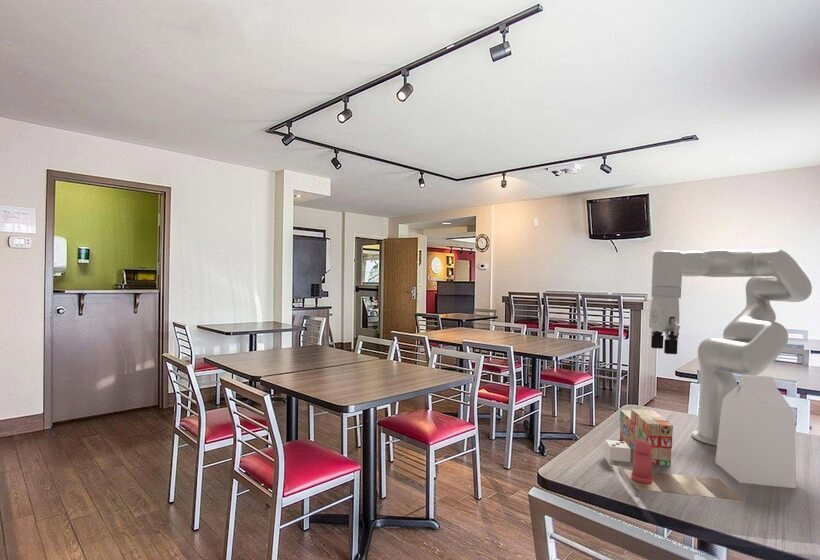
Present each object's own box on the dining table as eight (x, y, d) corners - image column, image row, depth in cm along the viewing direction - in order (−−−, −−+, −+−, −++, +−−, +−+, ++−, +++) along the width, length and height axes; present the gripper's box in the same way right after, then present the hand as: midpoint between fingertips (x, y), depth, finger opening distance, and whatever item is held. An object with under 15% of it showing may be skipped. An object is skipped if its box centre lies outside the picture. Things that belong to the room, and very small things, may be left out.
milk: (765, 472, 115) (770, 372, 114) (796, 494, 103) (801, 383, 103) (714, 467, 117) (719, 369, 116) (739, 488, 105) (744, 379, 105)
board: (719, 483, 108) (719, 477, 108) (748, 508, 96) (749, 502, 96) (619, 473, 111) (619, 467, 111) (635, 496, 99) (635, 490, 99)
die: (624, 459, 120) (624, 441, 120) (630, 467, 115) (630, 448, 115) (604, 457, 121) (605, 439, 121) (609, 465, 116) (610, 446, 116)
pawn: (648, 476, 107) (649, 437, 106) (655, 485, 102) (656, 444, 102) (628, 474, 107) (630, 436, 107) (635, 483, 103) (636, 443, 103)
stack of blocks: (618, 439, 135) (620, 399, 135) (640, 441, 134) (642, 401, 134) (645, 470, 114) (647, 422, 114) (671, 472, 113) (673, 424, 113)
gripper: (641, 291, 139) (639, 345, 139) (664, 293, 122) (661, 355, 122) (667, 292, 137) (665, 347, 138) (693, 294, 120) (691, 357, 121)
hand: (663, 350), depth 130 cm, fingers open, 9 cm apart
